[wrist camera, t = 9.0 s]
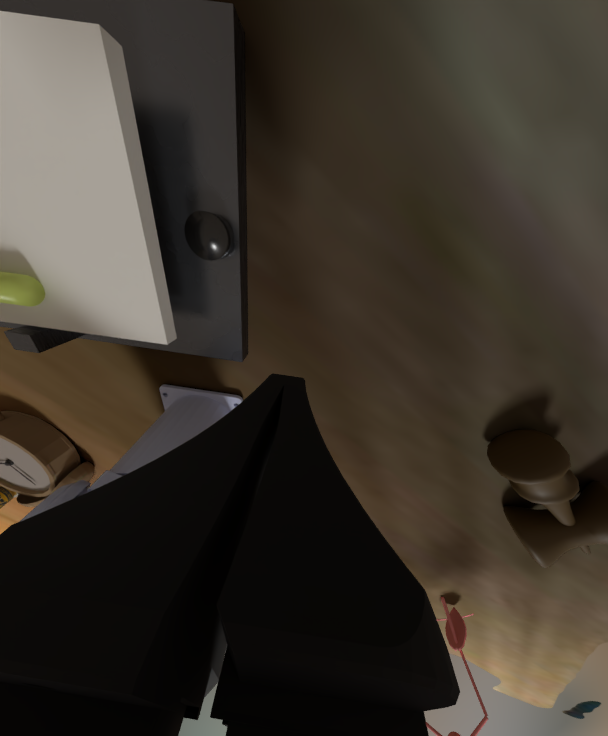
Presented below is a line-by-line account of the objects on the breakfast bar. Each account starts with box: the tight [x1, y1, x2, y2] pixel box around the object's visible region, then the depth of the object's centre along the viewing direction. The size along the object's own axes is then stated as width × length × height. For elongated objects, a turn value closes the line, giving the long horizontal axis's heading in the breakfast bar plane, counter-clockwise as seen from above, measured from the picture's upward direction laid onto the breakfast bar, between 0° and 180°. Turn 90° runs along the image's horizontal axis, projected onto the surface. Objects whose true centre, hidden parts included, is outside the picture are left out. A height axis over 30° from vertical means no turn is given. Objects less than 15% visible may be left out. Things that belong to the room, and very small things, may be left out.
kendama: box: [487, 429, 608, 568], centre depth 22 cm, size 6×10×20 cm
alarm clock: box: [0, 411, 94, 507], centre depth 28 cm, size 11×5×15 cm
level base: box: [0, 0, 248, 362], centre depth 13 cm, size 25×17×6 cm
